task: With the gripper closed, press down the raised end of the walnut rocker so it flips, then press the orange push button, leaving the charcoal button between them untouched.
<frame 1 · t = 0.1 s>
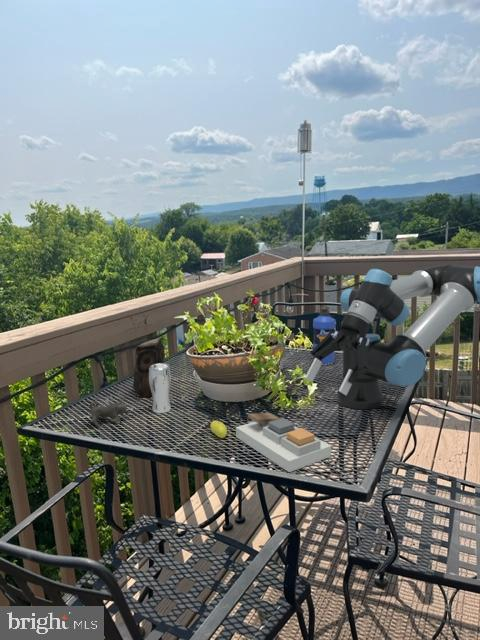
hand: (324, 386, 132), 15 cm above the table, tool tilted 35°, fingers open, 13 cm apart
switch housing: (281, 446, 131), on the table
water bottle: (323, 363, 206), on the table
walnut rocker: (264, 417, 136), point 5 cm above the table, hinge at -12.0°
dark brown speaker: (148, 392, 174), on the table
lemon: (219, 435, 139), on the table
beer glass: (161, 410, 158), on the table
charcoal button: (281, 427, 129), point 6 cm above the table, slide at 0.0 cm
dog figurine: (111, 422, 148), on the table
orange button: (300, 437, 123), point 6 cm above the table, slide at 0.0 cm
rounded white slab: (255, 379, 186), on the table
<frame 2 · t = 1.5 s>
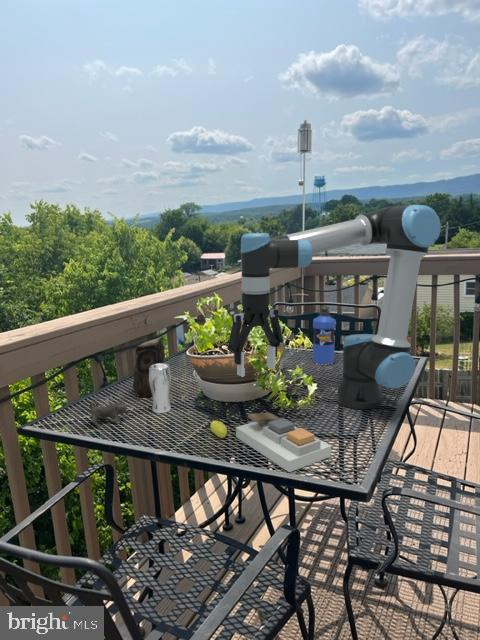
hand: (256, 371, 132), 20 cm above the table, tool pointing down, fingers open, 10 cm apart
nothing on the table moved.
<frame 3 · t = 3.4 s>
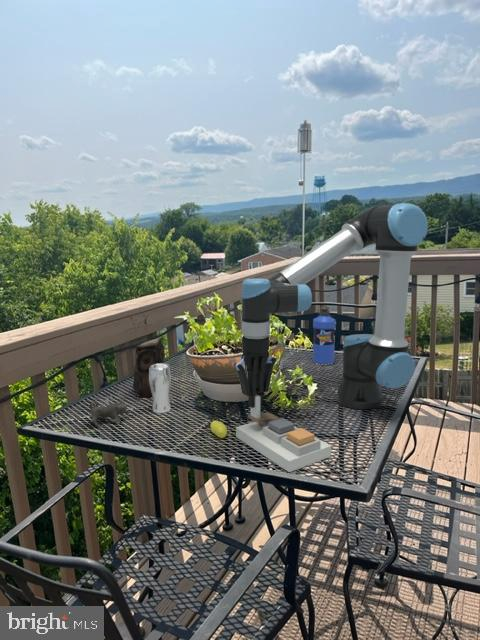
hand: (255, 417, 134), 6 cm above the table, tool pointing down, fingers closed
walnut rocker: (264, 417, 136), point 5 cm above the table, hinge at -11.3°, touching gripper
everything else where it was.
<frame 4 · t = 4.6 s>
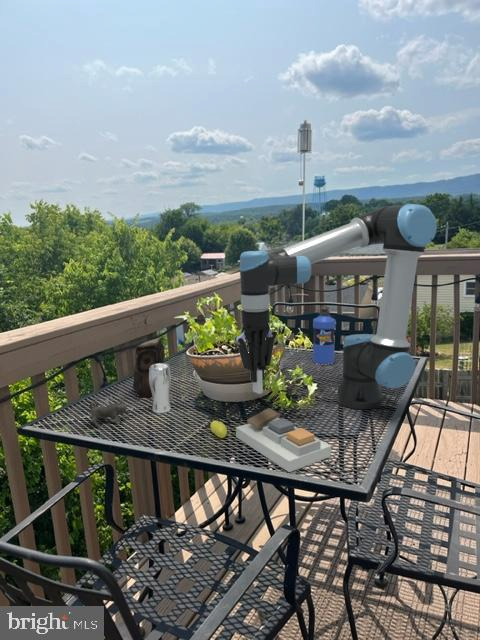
hand: (257, 391, 133), 14 cm above the table, tool pointing down, fingers closed
walnut rocker: (263, 418, 136), point 5 cm above the table, hinge at 12.6°
everything else where it was.
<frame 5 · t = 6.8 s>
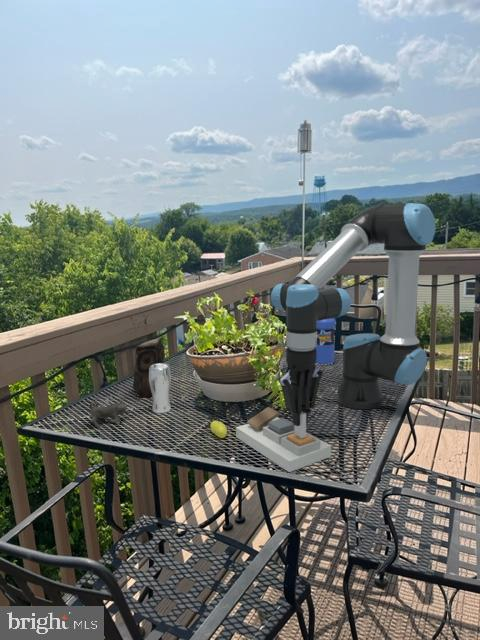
hand: (300, 435, 123), 6 cm above the table, tool pointing down, fingers closed
walnut rocker: (263, 418, 136), point 5 cm above the table, hinge at 18.7°
orange button: (300, 440, 123), point 5 cm above the table, slide at 0.8 cm, touching gripper
everything else where it was.
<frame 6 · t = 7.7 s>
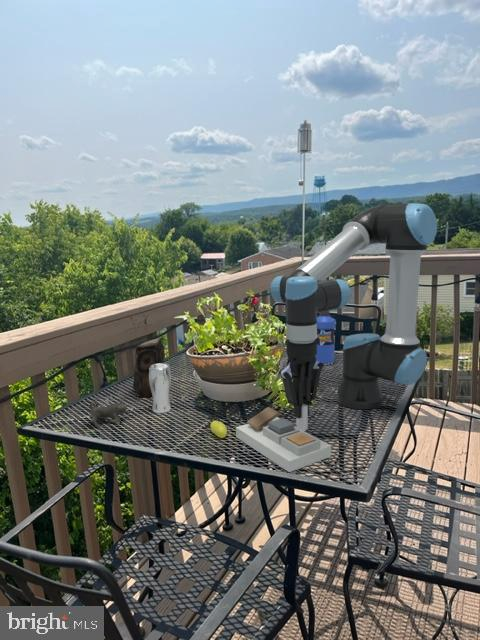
hand: (301, 428, 123), 8 cm above the table, tool pointing down, fingers closed
walnut rocker: (263, 418, 136), point 5 cm above the table, hinge at 19.0°
orange button: (300, 443, 123), point 4 cm above the table, slide at 1.4 cm, touching switch housing
everything else where it was.
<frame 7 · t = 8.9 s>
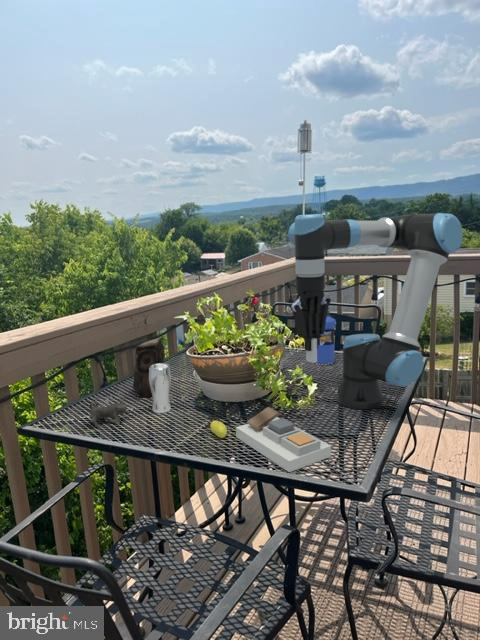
hand: (311, 361, 129), 23 cm above the table, tool pointing down, fingers closed
nothing on the table moved.
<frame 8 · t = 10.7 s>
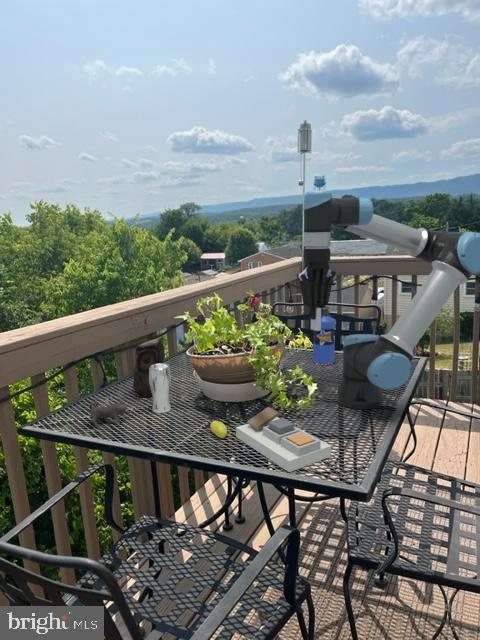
hand: (315, 329, 138), 29 cm above the table, tool pointing down, fingers closed
nothing on the table moved.
at the end: walnut rocker at +19° (first picture: -12°); orange button slide at 1.4 cm; charcoal button slide at 0.0 cm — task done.
